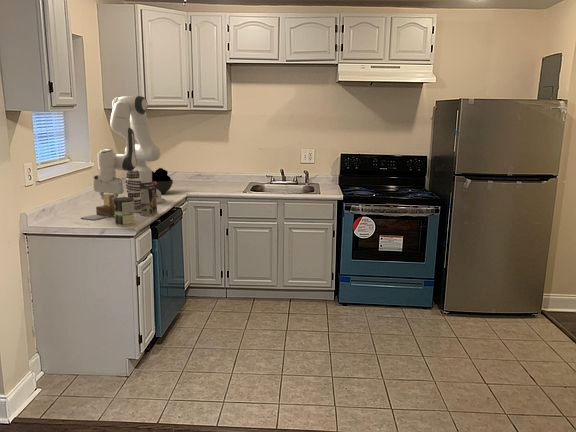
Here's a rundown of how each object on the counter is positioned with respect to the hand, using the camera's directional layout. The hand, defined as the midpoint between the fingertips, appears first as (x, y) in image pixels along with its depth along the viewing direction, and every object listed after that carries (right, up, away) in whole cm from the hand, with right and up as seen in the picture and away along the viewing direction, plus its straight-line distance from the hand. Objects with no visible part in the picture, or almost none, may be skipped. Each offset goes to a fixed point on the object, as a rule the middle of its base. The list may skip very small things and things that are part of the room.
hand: (109, 200), depth 301 cm
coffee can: (+16, -14, -22) cm, 31 cm away
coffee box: (+23, -9, +4) cm, 25 cm away
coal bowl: (+10, +7, +78) cm, 79 cm away
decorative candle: (+11, -6, +14) cm, 19 cm away
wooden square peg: (0, -8, +2) cm, 9 cm away
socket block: (0, -8, +2) cm, 9 cm away
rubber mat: (-6, -11, -9) cm, 15 cm away
